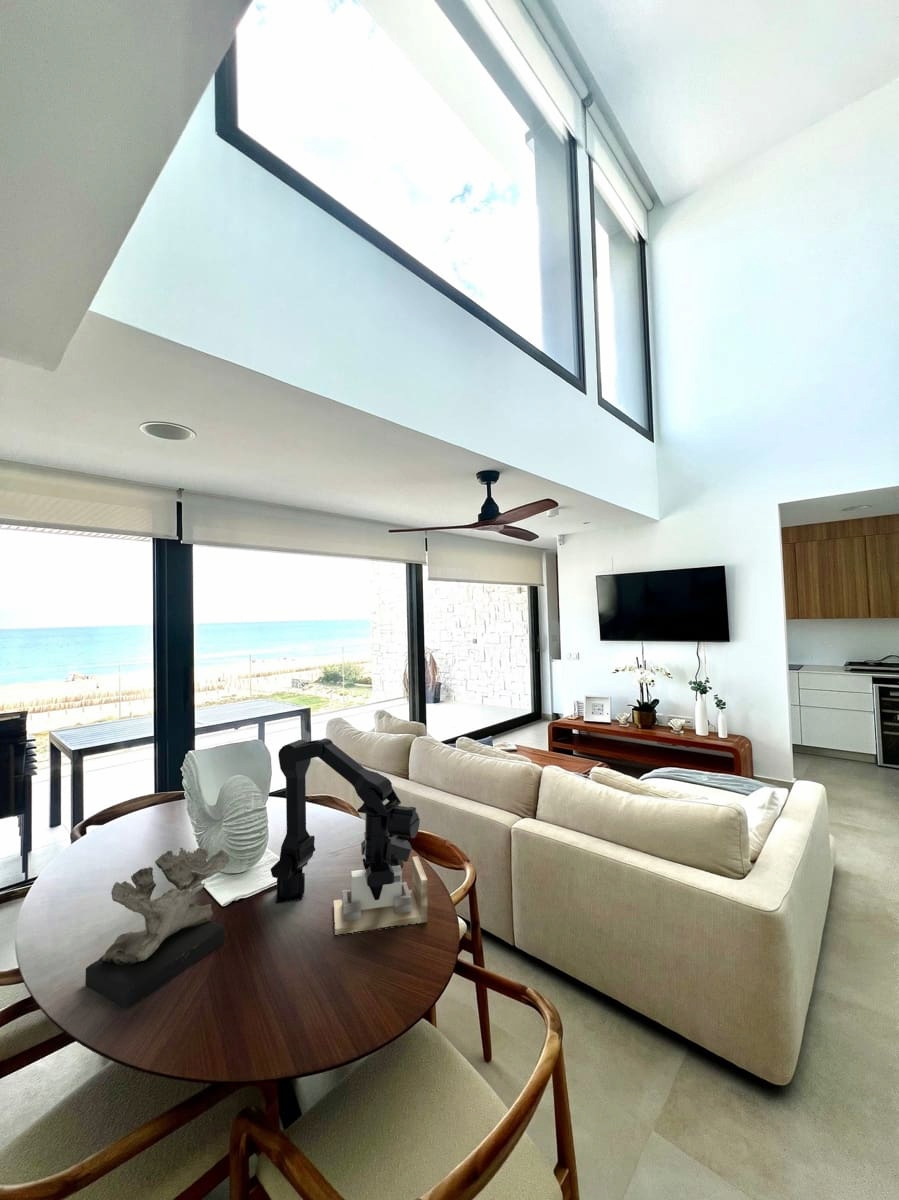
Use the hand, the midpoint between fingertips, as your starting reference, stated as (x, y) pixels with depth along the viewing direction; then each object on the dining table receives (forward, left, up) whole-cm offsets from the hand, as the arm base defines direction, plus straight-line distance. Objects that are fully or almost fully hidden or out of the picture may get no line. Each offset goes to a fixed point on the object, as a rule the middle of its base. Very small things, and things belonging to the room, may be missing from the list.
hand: (376, 895), depth 122 cm
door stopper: (+5, +22, -5) cm, 23 cm away
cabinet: (0, 0, -4) cm, 5 cm away
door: (0, 0, -2) cm, 2 cm away
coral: (-43, -7, -5) cm, 44 cm away
